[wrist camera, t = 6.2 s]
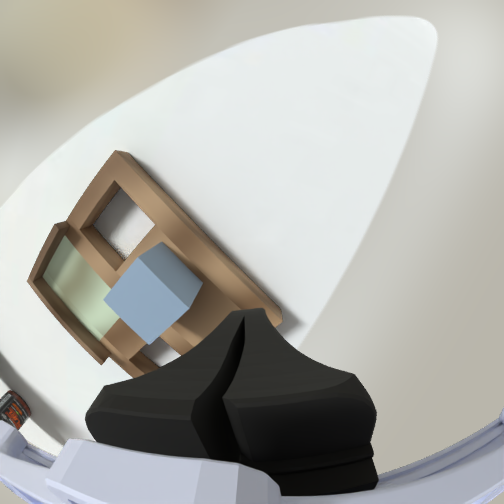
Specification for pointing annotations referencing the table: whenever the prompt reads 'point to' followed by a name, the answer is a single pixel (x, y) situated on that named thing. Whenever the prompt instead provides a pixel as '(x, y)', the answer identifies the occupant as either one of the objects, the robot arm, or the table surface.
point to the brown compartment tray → (113, 266)
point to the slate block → (153, 292)
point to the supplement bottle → (13, 410)
